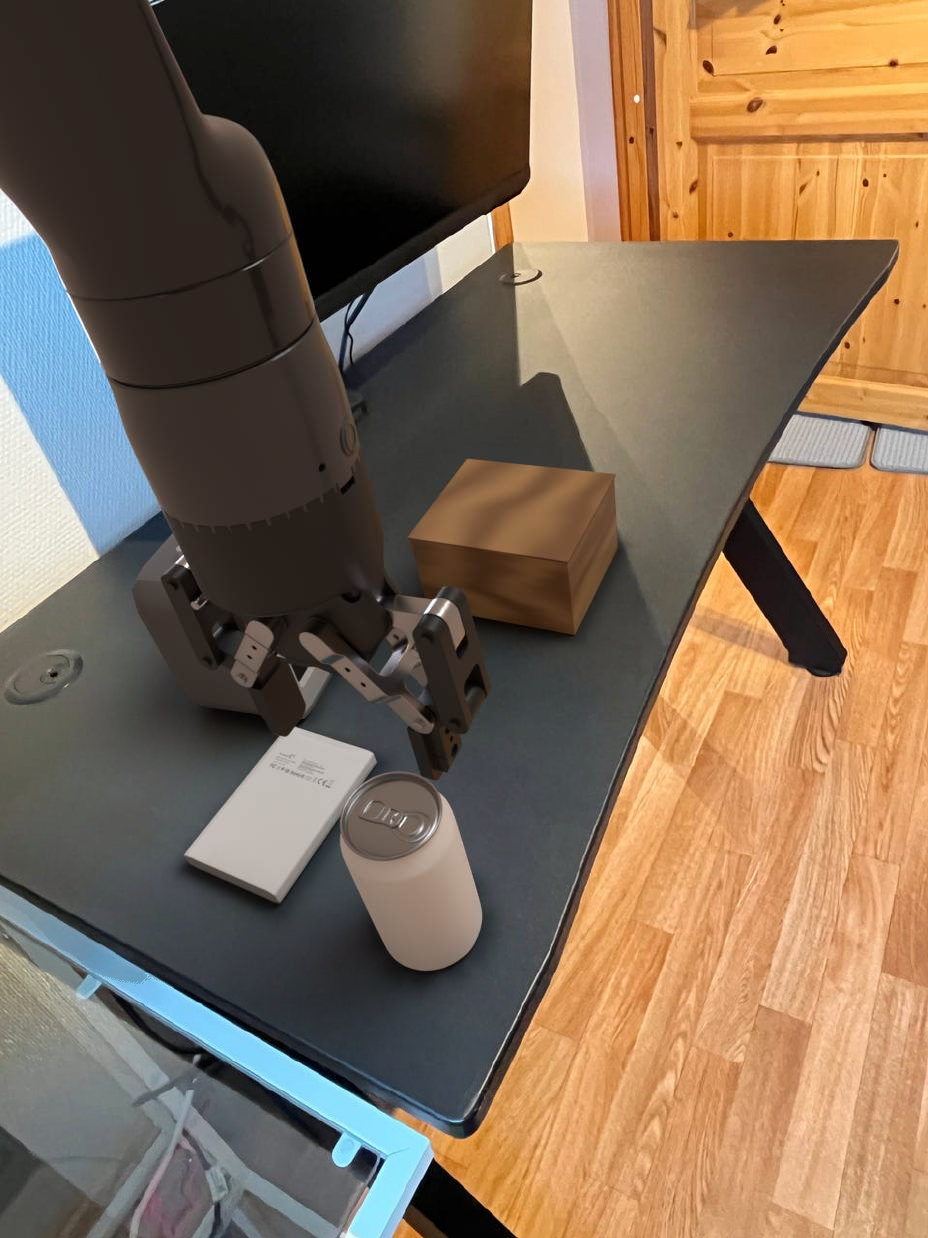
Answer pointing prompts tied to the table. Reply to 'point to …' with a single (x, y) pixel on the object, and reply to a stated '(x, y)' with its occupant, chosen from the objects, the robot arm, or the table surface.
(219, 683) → the alarm clock
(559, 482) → the wooden block
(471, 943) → the can
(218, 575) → the robot arm
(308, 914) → the table surface
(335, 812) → the hard drive
